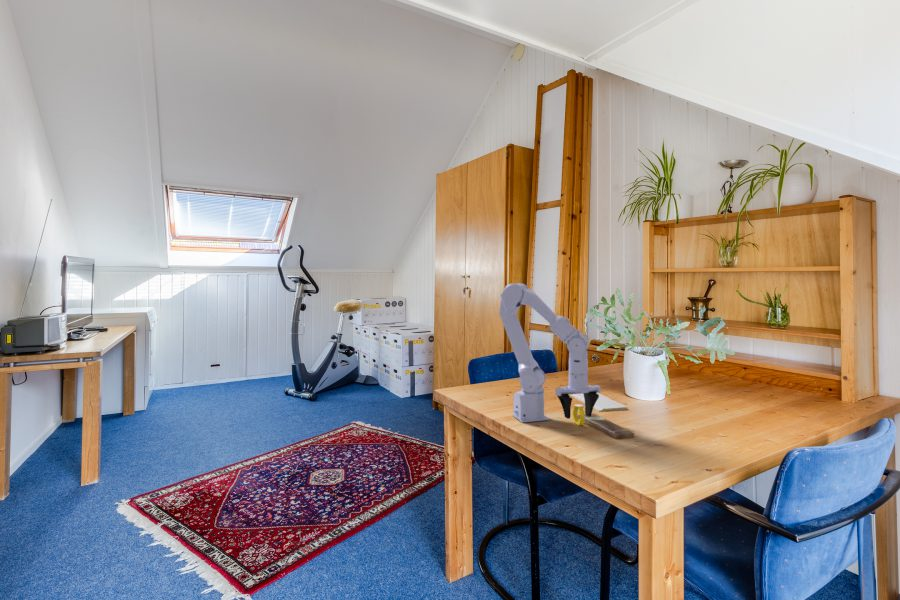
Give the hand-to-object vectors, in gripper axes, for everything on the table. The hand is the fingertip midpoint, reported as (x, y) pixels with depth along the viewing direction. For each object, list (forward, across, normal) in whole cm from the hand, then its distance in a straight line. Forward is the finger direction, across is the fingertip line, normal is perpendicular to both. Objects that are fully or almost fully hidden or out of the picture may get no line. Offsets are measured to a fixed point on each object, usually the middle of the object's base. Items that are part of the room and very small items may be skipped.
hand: (577, 416), depth 140 cm
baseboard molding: (+3, +19, +25) cm, 31 cm away
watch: (+2, 0, 0) cm, 2 cm away
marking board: (+2, +6, -5) cm, 8 cm away
